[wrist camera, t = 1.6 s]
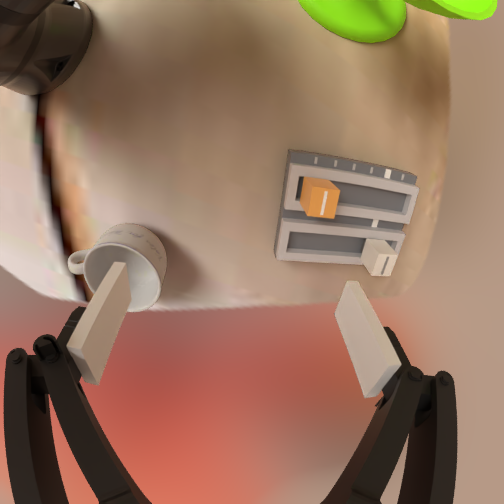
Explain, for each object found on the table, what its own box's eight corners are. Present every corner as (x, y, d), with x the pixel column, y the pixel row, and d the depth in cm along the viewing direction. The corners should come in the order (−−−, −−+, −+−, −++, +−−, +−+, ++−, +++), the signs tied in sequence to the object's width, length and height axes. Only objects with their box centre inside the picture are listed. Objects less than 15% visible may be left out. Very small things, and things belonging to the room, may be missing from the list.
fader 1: (301, 173, 31) (313, 186, 27) (325, 177, 31) (340, 190, 27) (297, 199, 33) (307, 216, 28) (321, 201, 33) (334, 219, 28)
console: (288, 149, 32) (293, 153, 29) (409, 172, 33) (421, 178, 31) (273, 249, 39) (276, 262, 36) (384, 257, 40) (393, 268, 38)
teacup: (181, 229, 37) (169, 261, 30) (163, 289, 41) (152, 325, 34) (92, 198, 33) (63, 222, 26) (85, 260, 38) (62, 290, 31)
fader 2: (363, 234, 35) (379, 254, 31) (381, 236, 36) (398, 255, 31) (357, 254, 37) (371, 276, 32) (374, 255, 37) (390, 276, 33)
